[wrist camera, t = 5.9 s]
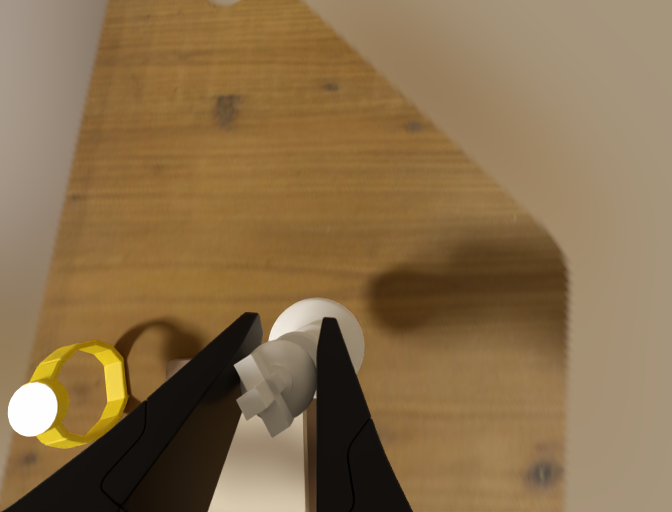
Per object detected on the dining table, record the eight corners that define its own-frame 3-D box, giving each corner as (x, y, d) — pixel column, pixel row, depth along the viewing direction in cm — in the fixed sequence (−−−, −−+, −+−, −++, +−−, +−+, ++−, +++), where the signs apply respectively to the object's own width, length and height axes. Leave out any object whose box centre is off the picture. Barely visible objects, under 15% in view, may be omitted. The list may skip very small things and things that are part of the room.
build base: (335, 530, 19) (333, 563, 17) (168, 532, 20) (142, 565, 17) (328, 352, 21) (325, 358, 19) (175, 358, 22) (152, 365, 19)
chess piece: (331, 280, 16) (295, 231, 6) (383, 361, 15) (434, 453, 5) (253, 329, 16) (88, 360, 6) (300, 416, 15) (196, 615, 5)
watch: (144, 415, 21) (66, 465, 15) (106, 424, 21) (14, 478, 15) (129, 331, 22) (49, 349, 16) (92, 340, 22) (-1, 361, 16)
